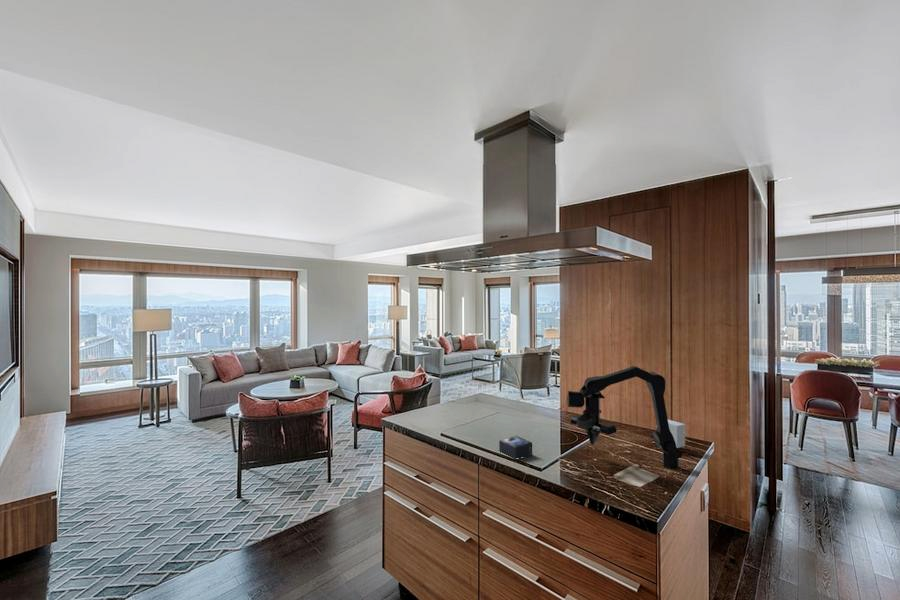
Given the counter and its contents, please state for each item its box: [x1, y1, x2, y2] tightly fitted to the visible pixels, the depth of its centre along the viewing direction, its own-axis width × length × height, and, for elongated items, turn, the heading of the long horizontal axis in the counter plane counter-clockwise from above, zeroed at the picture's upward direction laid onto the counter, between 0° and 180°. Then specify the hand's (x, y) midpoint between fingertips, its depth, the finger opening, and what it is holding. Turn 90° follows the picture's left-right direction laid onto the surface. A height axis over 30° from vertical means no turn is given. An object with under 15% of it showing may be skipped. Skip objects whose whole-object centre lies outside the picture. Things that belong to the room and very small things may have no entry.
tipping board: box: [613, 463, 661, 488], centre depth 145 cm, size 16×10×2 cm, turn 126°
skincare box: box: [668, 419, 686, 449], centre depth 180 cm, size 10×6×10 cm, turn 27°
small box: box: [498, 435, 533, 459], centre depth 167 cm, size 11×6×10 cm
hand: (592, 444), depth 161 cm, fingers closed
